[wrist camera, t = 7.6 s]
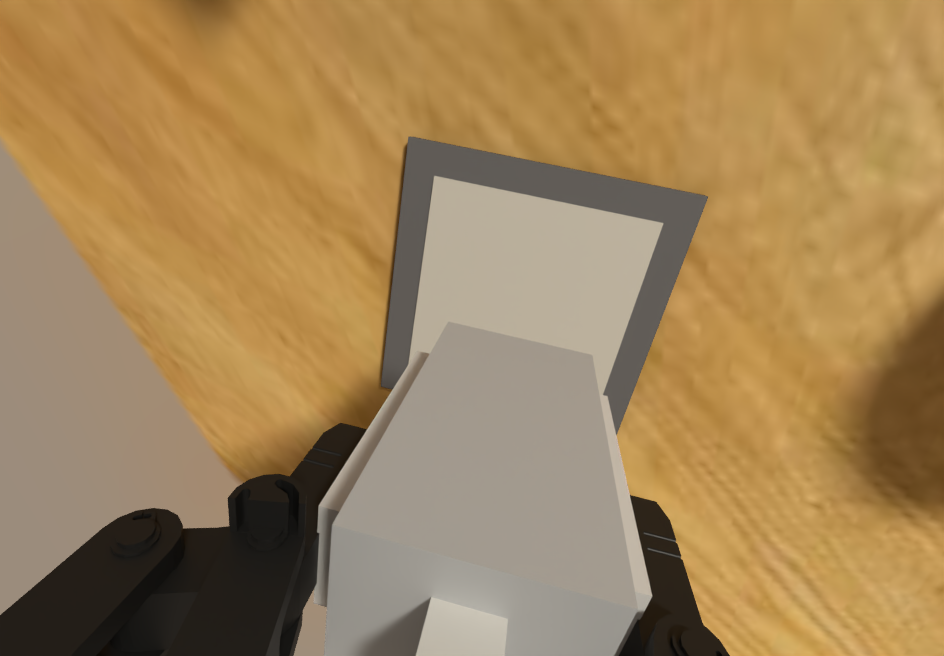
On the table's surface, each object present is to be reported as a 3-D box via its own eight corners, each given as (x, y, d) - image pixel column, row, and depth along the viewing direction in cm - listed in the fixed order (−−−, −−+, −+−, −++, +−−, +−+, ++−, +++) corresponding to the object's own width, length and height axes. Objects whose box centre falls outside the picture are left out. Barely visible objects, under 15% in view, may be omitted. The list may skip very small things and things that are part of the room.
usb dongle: (448, 321, 14) (258, 653, 5) (592, 354, 13) (668, 778, 5) (428, 436, 16) (266, 828, 7) (554, 468, 15) (557, 927, 6)
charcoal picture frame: (412, 136, 22) (407, 136, 21) (704, 195, 20) (708, 197, 20) (384, 381, 27) (380, 387, 27) (611, 437, 26) (613, 444, 26)
